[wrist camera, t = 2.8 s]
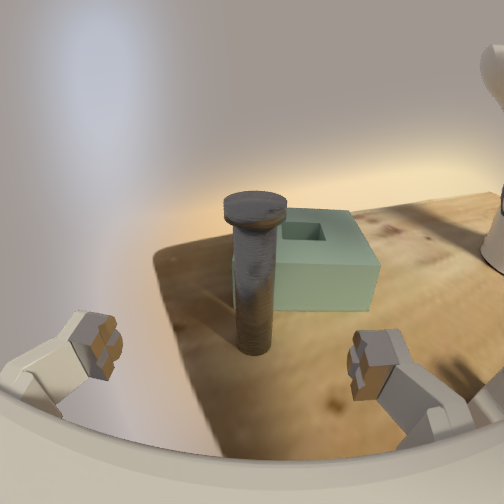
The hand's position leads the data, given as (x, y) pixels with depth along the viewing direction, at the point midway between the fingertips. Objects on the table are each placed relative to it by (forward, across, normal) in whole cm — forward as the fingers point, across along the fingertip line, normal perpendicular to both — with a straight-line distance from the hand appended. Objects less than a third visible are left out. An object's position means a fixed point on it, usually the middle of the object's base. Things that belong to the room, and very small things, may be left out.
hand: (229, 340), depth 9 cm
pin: (+13, 0, +14) cm, 19 cm away
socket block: (+26, -5, +14) cm, 29 cm away
